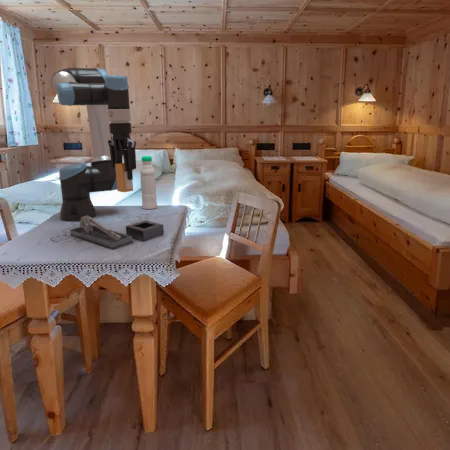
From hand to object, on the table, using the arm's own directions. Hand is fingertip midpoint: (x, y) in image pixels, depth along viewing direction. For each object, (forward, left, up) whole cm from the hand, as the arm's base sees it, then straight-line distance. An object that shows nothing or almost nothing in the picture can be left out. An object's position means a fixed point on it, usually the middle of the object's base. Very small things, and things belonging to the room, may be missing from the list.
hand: (125, 187), depth 149 cm
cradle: (-6, -8, -19) cm, 22 cm away
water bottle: (-27, +35, -19) cm, 48 cm away
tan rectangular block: (0, 0, -1) cm, 1 cm away
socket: (+4, +5, -19) cm, 20 cm away
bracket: (-6, -8, -18) cm, 21 cm away
